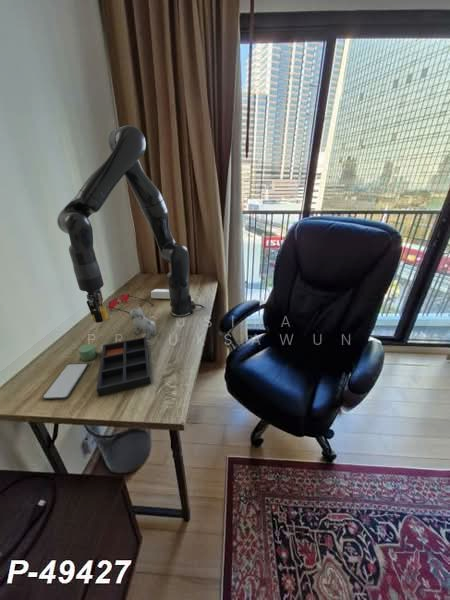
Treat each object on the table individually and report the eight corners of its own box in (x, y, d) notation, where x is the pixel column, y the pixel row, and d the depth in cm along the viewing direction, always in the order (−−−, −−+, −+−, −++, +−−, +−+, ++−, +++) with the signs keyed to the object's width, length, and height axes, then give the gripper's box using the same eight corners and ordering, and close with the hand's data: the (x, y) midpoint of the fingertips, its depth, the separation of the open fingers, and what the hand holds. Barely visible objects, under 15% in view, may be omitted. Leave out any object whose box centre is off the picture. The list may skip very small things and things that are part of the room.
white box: (178, 296, 138) (178, 282, 137) (175, 298, 131) (174, 284, 130) (155, 295, 139) (155, 281, 138) (151, 298, 132) (150, 283, 131)
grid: (146, 342, 99) (145, 336, 98) (151, 383, 80) (149, 376, 79) (104, 351, 95) (103, 344, 94) (98, 396, 76) (96, 389, 74)
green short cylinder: (97, 350, 95) (94, 342, 93) (95, 359, 91) (92, 350, 89) (82, 353, 94) (79, 345, 92) (80, 362, 89) (77, 353, 88)
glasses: (128, 299, 133) (127, 291, 131) (153, 305, 127) (152, 296, 124) (107, 311, 122) (105, 302, 120) (133, 318, 116) (131, 309, 113)
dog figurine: (140, 324, 111) (136, 303, 106) (158, 334, 104) (155, 312, 99) (129, 330, 107) (125, 308, 103) (148, 340, 100) (144, 318, 96)
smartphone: (88, 363, 88) (65, 397, 75) (88, 364, 88) (66, 398, 75) (68, 363, 88) (41, 398, 75) (68, 364, 88) (42, 399, 75)
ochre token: (108, 314, 94) (106, 305, 92) (107, 321, 90) (105, 311, 88) (94, 316, 93) (91, 307, 91) (92, 323, 88) (89, 313, 87)
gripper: (98, 280, 78) (110, 326, 86) (102, 266, 90) (113, 307, 98) (71, 284, 76) (86, 330, 84) (79, 268, 88) (92, 310, 96)
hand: (100, 317), depth 91 cm, fingers closed on ochre token, 5 cm apart
